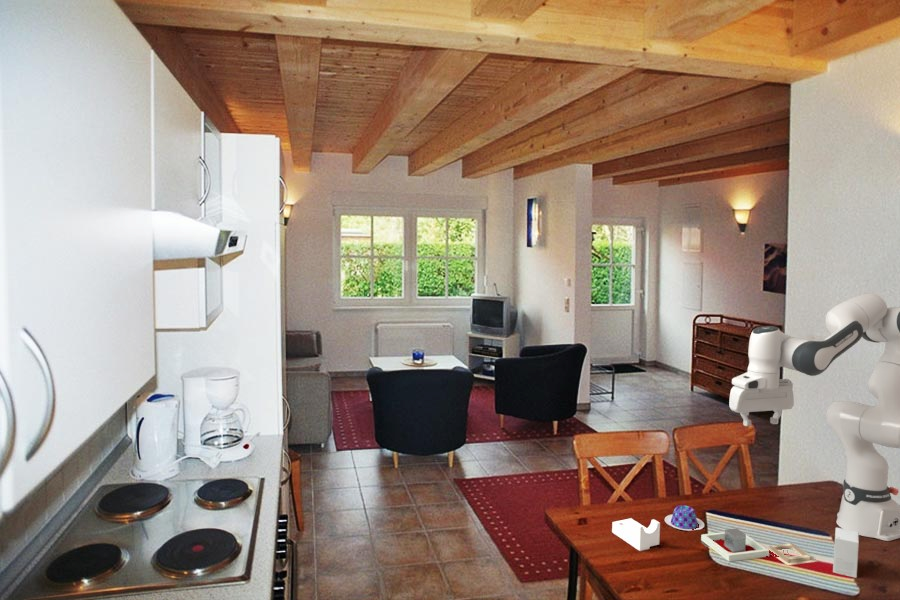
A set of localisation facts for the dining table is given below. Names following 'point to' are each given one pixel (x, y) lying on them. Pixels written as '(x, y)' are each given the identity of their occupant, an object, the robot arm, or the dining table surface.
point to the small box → (846, 552)
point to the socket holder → (789, 559)
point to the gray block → (735, 540)
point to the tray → (757, 553)
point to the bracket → (637, 533)
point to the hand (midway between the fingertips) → (760, 424)
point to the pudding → (684, 518)
